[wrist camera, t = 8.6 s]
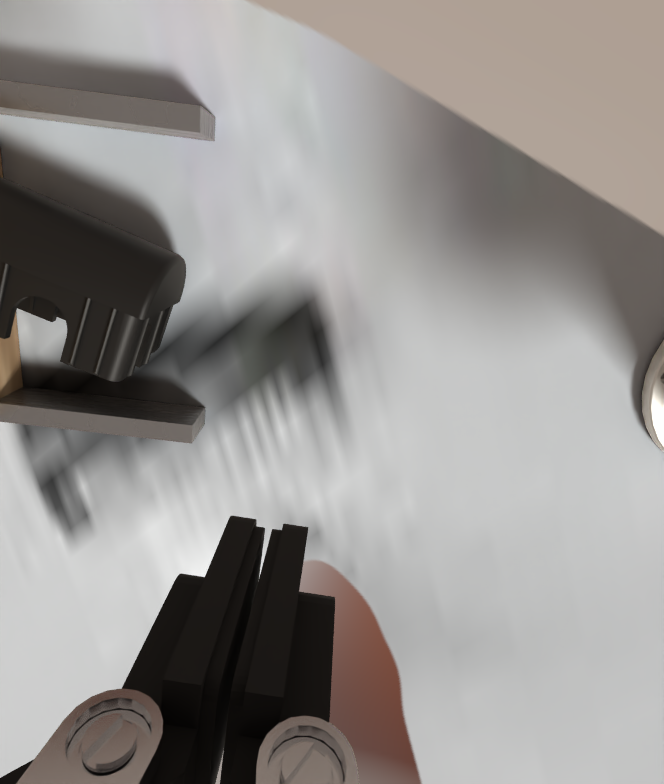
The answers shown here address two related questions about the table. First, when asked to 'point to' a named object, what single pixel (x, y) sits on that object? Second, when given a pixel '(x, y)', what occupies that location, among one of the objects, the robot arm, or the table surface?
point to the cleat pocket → (89, 408)
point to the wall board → (10, 355)
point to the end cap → (85, 282)
